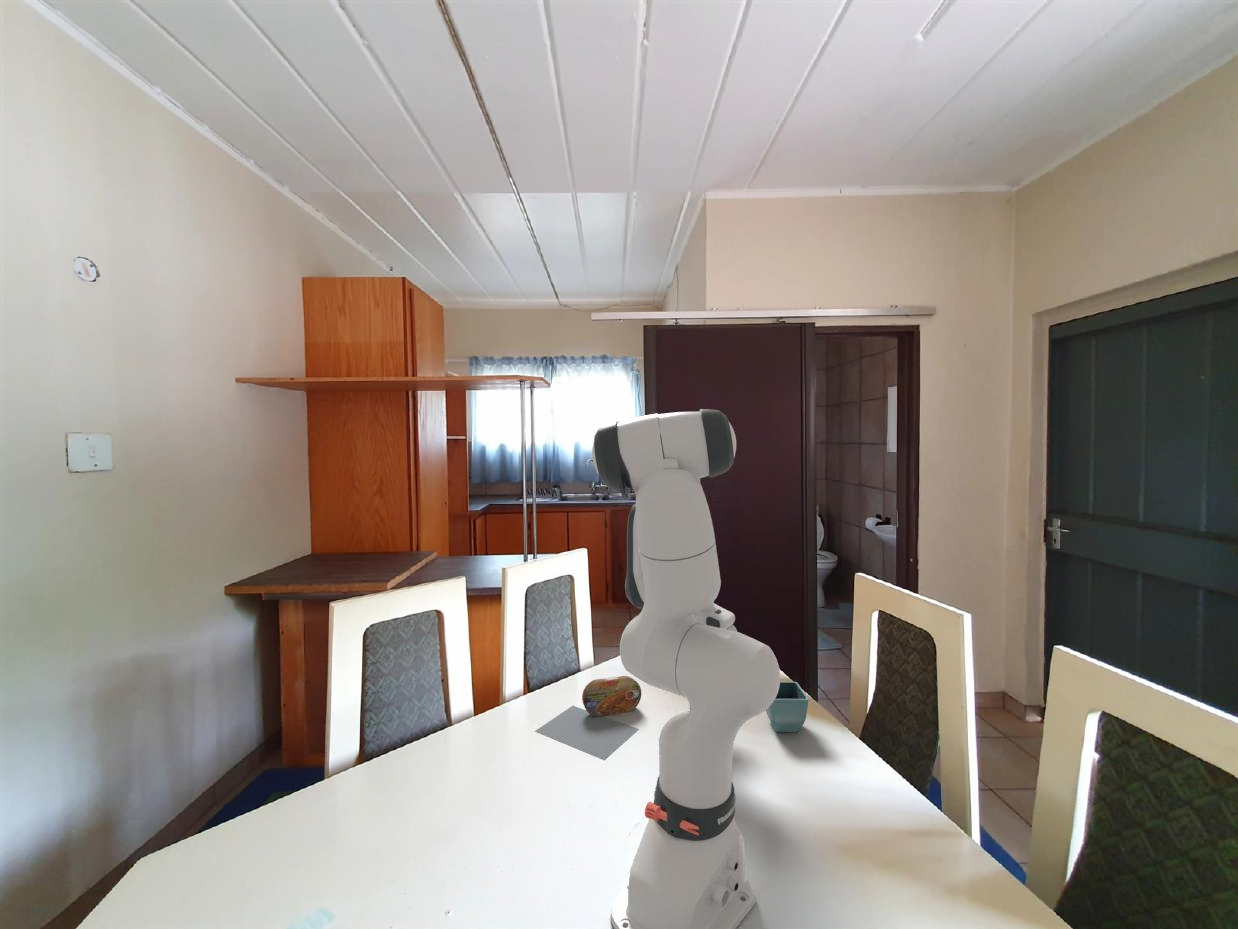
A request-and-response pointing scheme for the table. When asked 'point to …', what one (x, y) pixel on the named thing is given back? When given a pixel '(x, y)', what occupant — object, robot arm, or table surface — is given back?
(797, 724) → the flower pot
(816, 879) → the table surface
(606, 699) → the tin
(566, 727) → the mat
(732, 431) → the robot arm
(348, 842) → the table surface
